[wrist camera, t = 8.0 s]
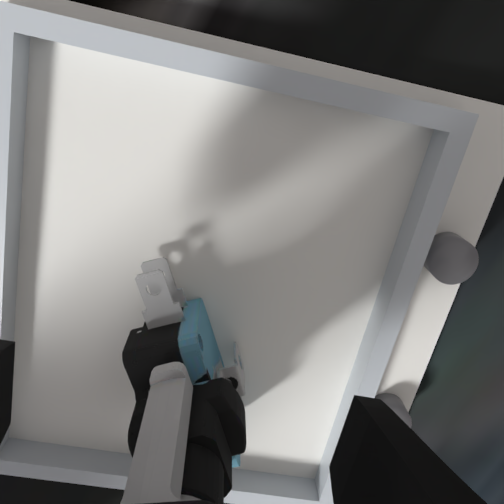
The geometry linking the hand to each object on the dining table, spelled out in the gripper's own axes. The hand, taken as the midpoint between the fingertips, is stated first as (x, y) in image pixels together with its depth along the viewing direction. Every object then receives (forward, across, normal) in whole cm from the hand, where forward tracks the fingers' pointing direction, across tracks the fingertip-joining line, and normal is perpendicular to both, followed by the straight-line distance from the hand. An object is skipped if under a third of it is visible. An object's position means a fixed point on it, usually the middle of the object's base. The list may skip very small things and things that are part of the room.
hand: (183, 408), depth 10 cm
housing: (+6, 0, 0) cm, 6 cm away
